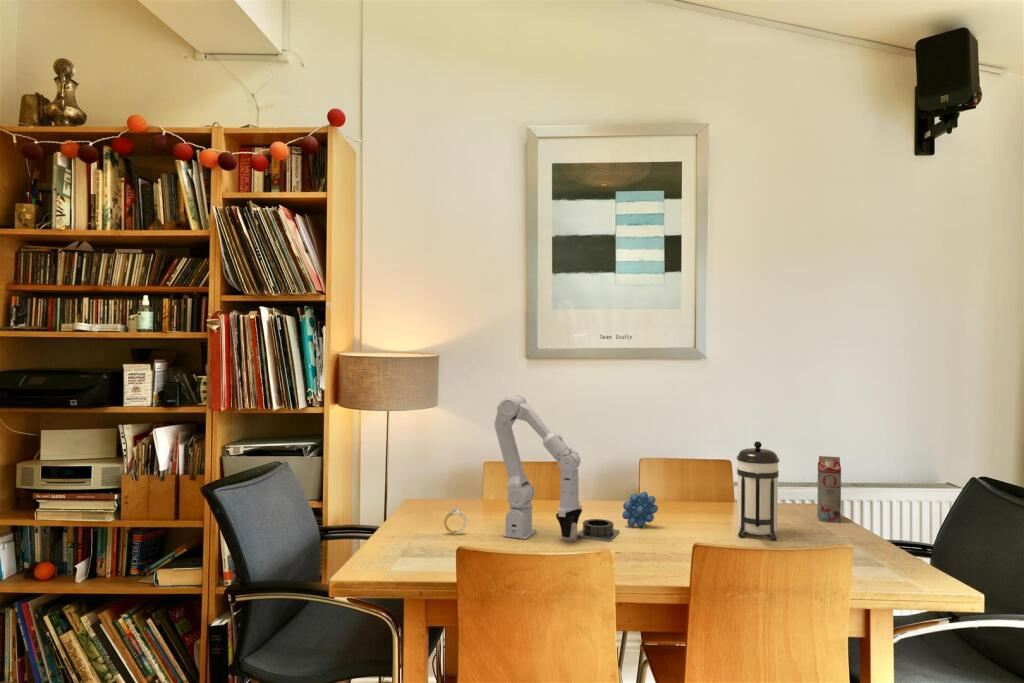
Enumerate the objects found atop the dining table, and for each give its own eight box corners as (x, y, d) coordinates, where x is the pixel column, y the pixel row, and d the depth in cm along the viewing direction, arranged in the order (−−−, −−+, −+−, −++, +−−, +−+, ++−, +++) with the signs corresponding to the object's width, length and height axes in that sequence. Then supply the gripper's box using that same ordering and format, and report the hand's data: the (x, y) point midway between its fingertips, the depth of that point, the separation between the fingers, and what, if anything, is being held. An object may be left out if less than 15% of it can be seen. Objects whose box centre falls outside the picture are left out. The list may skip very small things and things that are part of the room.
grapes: (657, 524, 229) (657, 489, 229) (658, 530, 222) (658, 493, 222) (622, 523, 231) (622, 487, 231) (622, 528, 224) (622, 492, 224)
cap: (574, 542, 209) (574, 526, 209) (558, 540, 211) (558, 524, 211) (579, 538, 214) (579, 522, 214) (564, 536, 216) (564, 520, 216)
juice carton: (840, 523, 232) (841, 458, 232) (819, 521, 234) (819, 457, 234) (838, 518, 238) (838, 455, 238) (817, 516, 241) (817, 454, 240)
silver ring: (443, 535, 216) (443, 510, 216) (445, 532, 219) (445, 507, 219) (465, 535, 215) (465, 510, 215) (466, 533, 219) (466, 508, 219)
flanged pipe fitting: (610, 541, 210) (610, 529, 210) (576, 537, 214) (576, 525, 214) (619, 532, 220) (619, 520, 220) (586, 528, 224) (586, 517, 224)
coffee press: (720, 531, 222) (720, 439, 222) (759, 526, 227) (760, 437, 227) (757, 546, 205) (757, 447, 205) (798, 541, 211) (799, 444, 211)
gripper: (574, 497, 204) (573, 542, 204) (588, 487, 217) (588, 529, 218) (552, 495, 207) (551, 539, 207) (567, 485, 220) (567, 527, 220)
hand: (569, 534), depth 212 cm, fingers closed on cap, 5 cm apart
